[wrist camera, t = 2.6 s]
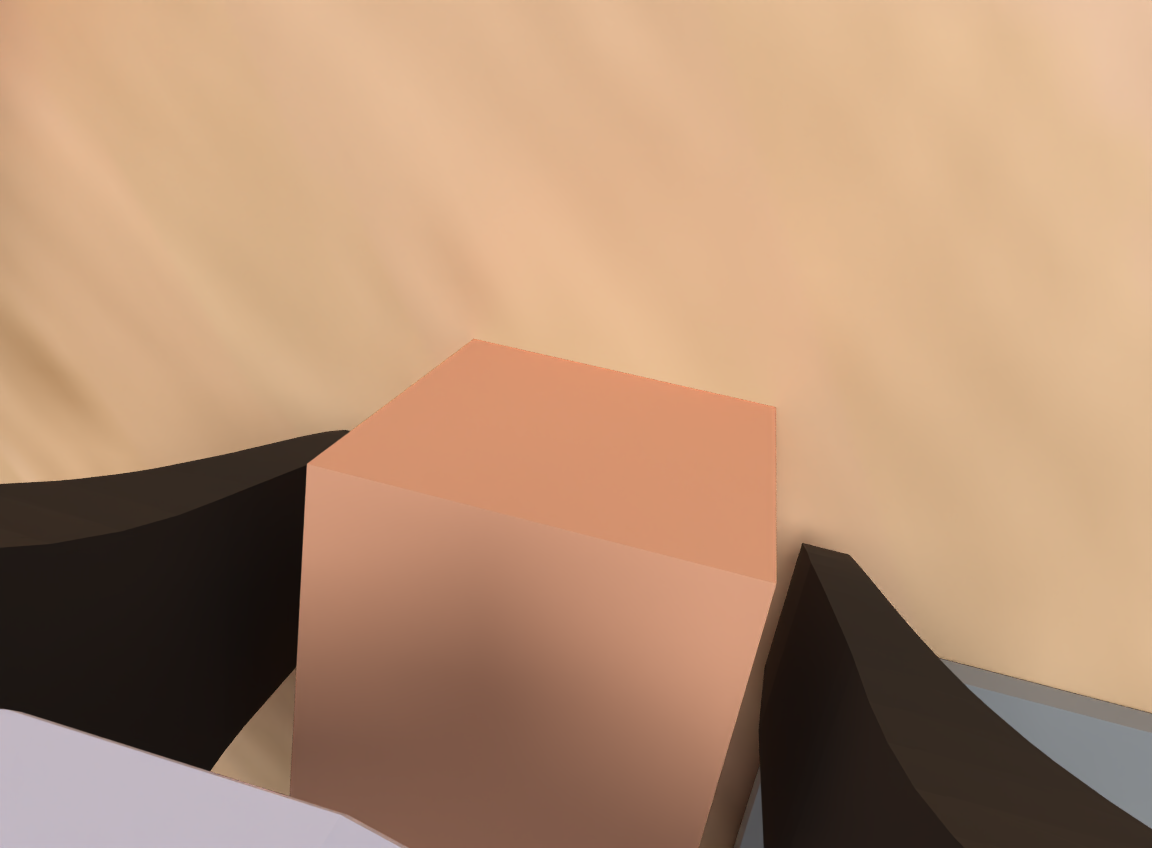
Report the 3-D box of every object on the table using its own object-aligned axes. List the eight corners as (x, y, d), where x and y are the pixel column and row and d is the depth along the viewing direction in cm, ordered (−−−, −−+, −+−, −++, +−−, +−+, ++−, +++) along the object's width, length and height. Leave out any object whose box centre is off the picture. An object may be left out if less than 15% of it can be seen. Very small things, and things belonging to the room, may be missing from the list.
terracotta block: (706, 663, 14) (672, 937, 9) (443, 591, 14) (288, 814, 10) (775, 405, 12) (776, 584, 8) (475, 338, 13) (306, 463, 8)
